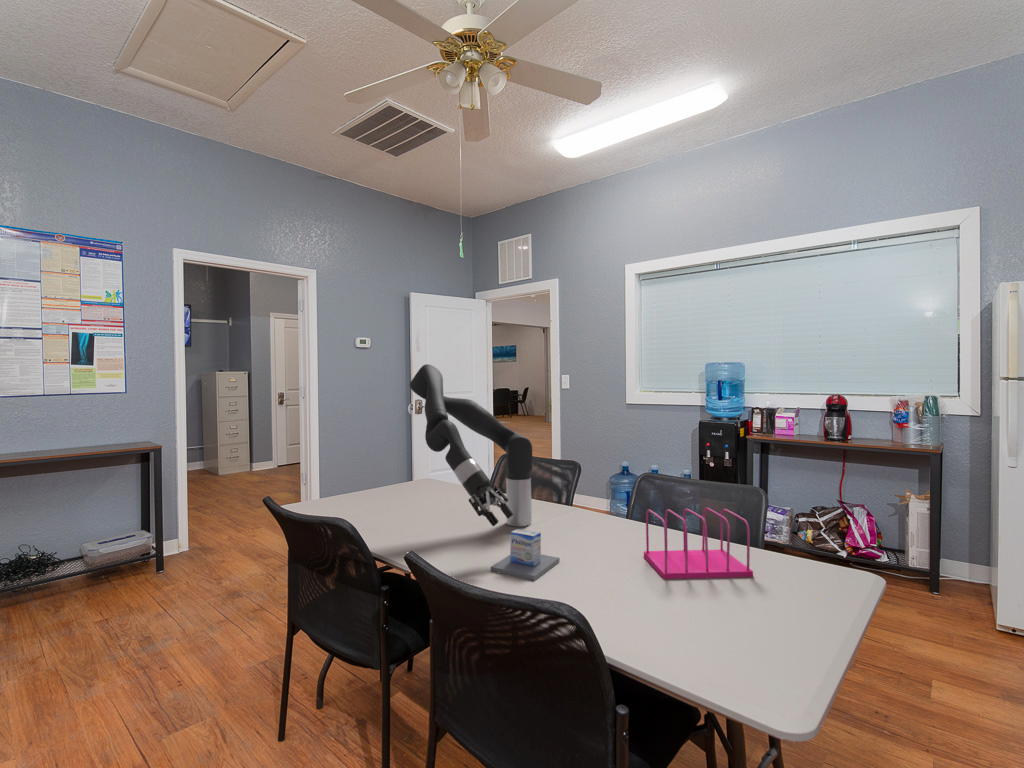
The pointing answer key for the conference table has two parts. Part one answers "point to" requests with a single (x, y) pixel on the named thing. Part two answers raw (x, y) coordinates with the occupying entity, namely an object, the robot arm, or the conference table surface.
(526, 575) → the slate tile
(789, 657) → the conference table surface
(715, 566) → the file sorter
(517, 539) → the medicine box
